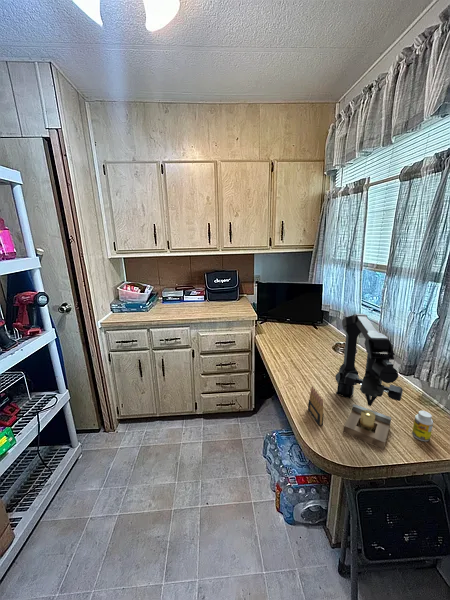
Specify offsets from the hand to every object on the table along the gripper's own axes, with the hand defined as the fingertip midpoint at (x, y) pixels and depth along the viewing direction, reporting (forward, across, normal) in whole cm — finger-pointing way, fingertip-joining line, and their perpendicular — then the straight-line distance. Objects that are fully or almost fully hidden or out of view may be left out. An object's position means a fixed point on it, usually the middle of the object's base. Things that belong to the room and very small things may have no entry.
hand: (369, 405), depth 100 cm
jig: (+12, 0, 0) cm, 12 cm away
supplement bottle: (+12, +17, +10) cm, 23 cm away
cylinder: (+12, 0, 0) cm, 12 cm away
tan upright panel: (+12, -19, -4) cm, 23 cm away
